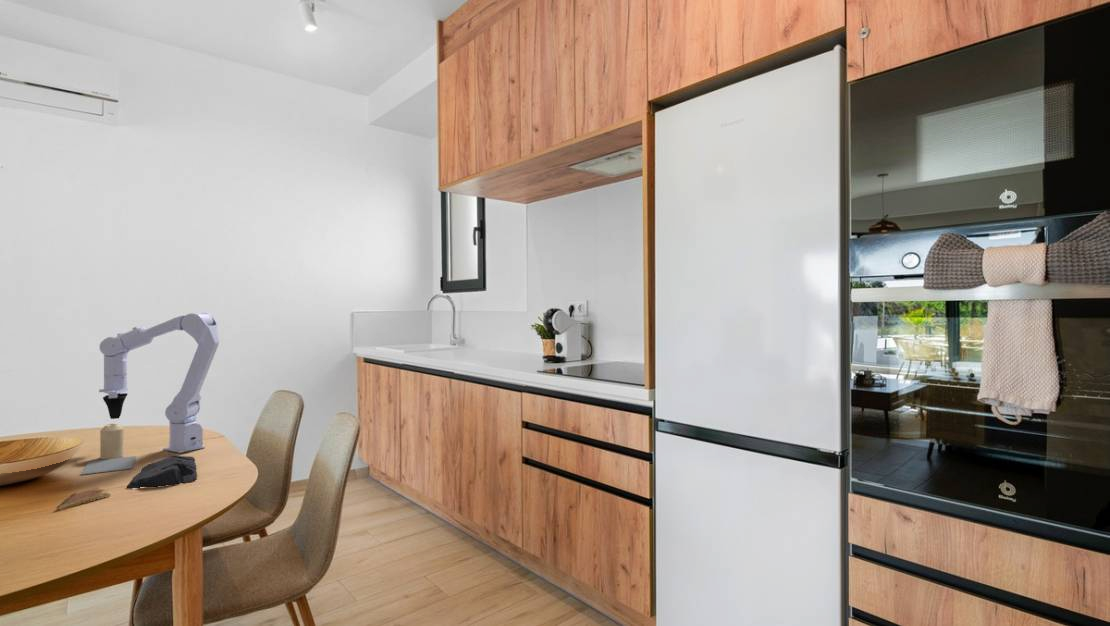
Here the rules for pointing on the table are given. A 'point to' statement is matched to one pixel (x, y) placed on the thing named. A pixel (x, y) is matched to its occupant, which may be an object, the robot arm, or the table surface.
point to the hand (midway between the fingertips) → (115, 417)
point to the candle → (111, 441)
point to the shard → (83, 497)
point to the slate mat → (109, 465)
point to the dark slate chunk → (166, 472)
